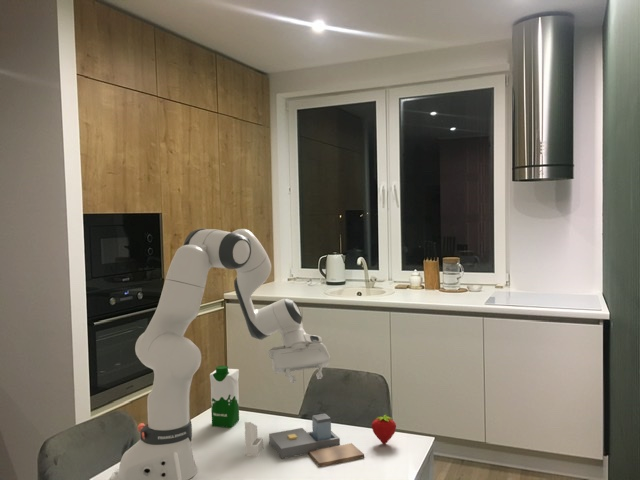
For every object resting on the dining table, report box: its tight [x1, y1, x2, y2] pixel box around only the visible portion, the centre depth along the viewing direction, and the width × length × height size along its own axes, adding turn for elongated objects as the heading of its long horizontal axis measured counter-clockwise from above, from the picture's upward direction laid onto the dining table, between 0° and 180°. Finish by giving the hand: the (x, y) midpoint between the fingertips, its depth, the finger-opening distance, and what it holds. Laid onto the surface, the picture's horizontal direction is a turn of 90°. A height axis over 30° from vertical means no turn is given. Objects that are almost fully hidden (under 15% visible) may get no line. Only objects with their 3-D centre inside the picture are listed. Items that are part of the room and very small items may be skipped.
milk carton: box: [209, 365, 240, 429], centre depth 184 cm, size 9×9×20 cm
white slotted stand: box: [244, 421, 264, 457], centre depth 160 cm, size 4×10×9 cm, turn 168°
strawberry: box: [371, 413, 397, 445], centre depth 165 cm, size 6×8×10 cm
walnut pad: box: [308, 442, 365, 467], centre depth 157 cm, size 14×8×1 cm, turn 112°
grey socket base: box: [268, 427, 341, 460], centre depth 165 cm, size 19×12×4 cm, turn 112°
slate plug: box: [311, 413, 332, 441], centre depth 167 cm, size 4×4×8 cm
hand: (307, 380), depth 178 cm, fingers open, 8 cm apart
